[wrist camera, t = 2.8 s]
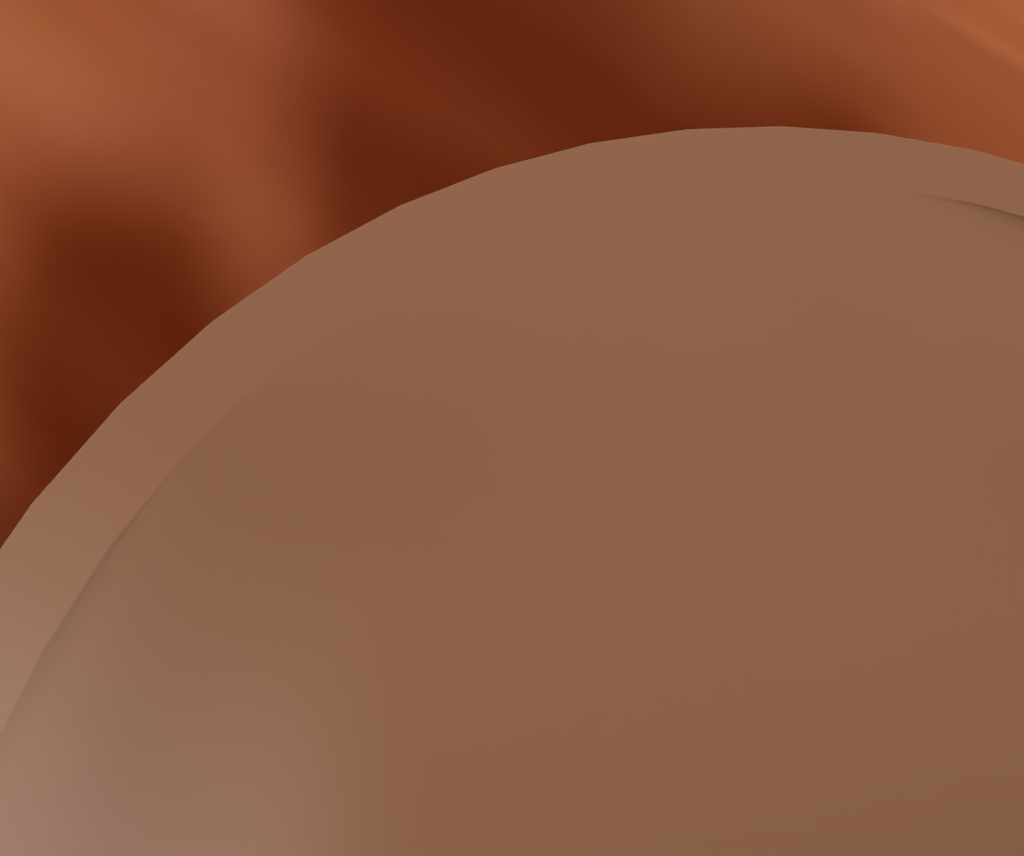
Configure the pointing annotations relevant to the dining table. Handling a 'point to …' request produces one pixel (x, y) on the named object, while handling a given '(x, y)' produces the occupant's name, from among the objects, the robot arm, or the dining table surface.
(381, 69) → the dining table surface
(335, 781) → the cable reel
